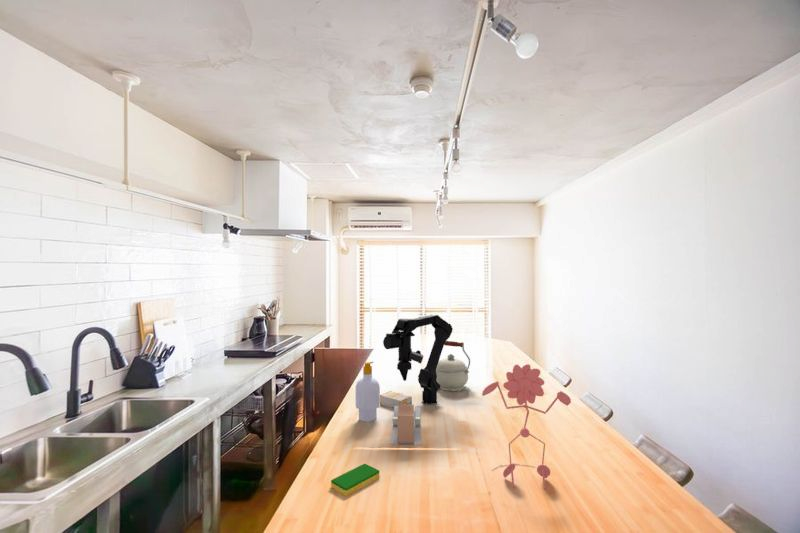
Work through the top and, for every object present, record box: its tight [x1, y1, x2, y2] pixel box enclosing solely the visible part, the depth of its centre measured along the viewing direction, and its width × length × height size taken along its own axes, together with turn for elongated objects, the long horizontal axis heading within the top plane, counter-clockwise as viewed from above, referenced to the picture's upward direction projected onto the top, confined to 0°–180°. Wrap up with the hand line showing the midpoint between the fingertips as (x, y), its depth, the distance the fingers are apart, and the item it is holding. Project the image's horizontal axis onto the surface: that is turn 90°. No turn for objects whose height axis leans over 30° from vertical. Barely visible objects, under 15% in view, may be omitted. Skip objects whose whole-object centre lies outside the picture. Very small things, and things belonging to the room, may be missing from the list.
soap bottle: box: [355, 361, 381, 422], centre depth 171 cm, size 10×10×24 cm
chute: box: [390, 405, 423, 446], centre depth 162 cm, size 11×34×3 cm, turn 178°
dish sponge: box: [330, 463, 380, 496], centre depth 121 cm, size 7×14×2 cm, turn 138°
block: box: [398, 404, 415, 443], centre depth 152 cm, size 6×12×10 cm, turn 178°
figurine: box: [481, 363, 572, 490], centre depth 124 cm, size 15×26×35 cm, turn 84°
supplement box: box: [380, 390, 413, 409], centre depth 187 cm, size 8×5×13 cm
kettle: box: [436, 340, 471, 392], centre depth 216 cm, size 25×18×25 cm
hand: (404, 380), depth 183 cm, fingers closed
